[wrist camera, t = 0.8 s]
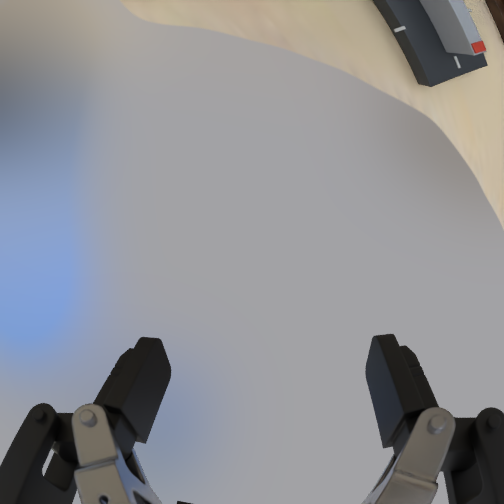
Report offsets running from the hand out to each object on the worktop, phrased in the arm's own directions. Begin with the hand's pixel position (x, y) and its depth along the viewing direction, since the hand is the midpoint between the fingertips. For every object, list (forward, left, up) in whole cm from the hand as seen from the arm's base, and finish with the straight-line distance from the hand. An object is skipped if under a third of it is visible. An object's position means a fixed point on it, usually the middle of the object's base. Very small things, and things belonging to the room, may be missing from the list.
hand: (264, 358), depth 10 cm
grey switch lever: (-6, +24, -22) cm, 34 cm away
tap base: (-6, +24, -26) cm, 36 cm away
